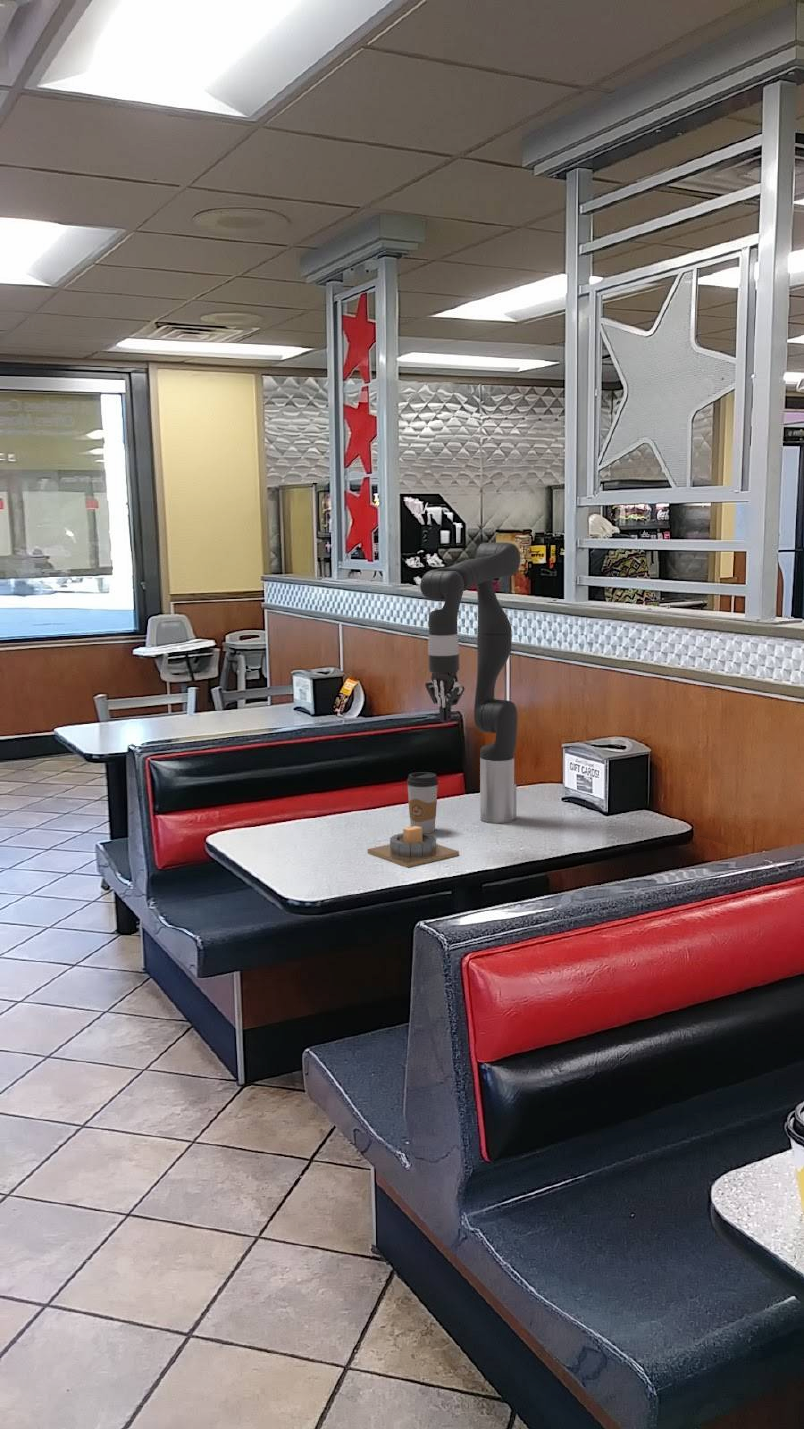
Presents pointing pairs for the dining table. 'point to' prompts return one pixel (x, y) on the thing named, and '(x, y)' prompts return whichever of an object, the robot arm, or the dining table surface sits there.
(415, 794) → the coffee cup
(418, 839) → the cap
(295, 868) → the dining table surface
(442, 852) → the board with grey ring
